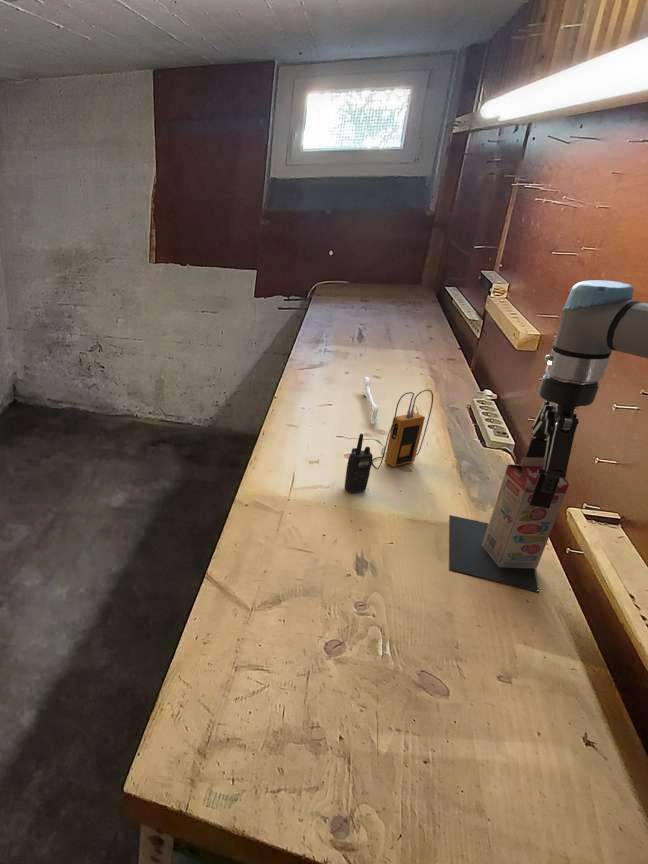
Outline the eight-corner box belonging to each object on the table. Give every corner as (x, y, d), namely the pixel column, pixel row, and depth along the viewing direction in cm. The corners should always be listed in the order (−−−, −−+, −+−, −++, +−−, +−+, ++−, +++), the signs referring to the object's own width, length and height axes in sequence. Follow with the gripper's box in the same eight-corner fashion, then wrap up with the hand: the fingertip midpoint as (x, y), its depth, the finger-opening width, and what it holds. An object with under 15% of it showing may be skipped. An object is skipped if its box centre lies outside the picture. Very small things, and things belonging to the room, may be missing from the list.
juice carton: (481, 545, 112) (513, 448, 103) (517, 546, 112) (552, 449, 102) (498, 567, 107) (533, 466, 97) (536, 568, 106) (575, 467, 96)
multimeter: (396, 443, 153) (411, 374, 144) (425, 460, 144) (443, 388, 135) (351, 453, 149) (364, 383, 140) (379, 471, 140) (394, 397, 131)
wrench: (359, 391, 186) (362, 374, 183) (366, 391, 185) (369, 374, 183) (370, 427, 162) (374, 408, 159) (378, 427, 161) (382, 409, 159)
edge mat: (527, 532, 116) (527, 531, 116) (538, 592, 100) (539, 592, 100) (449, 515, 122) (449, 514, 122) (449, 570, 107) (449, 569, 107)
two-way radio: (348, 494, 131) (358, 437, 124) (337, 485, 135) (347, 429, 128) (369, 491, 132) (380, 434, 125) (358, 481, 136) (368, 426, 129)
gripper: (535, 353, 104) (504, 454, 113) (554, 400, 85) (515, 517, 94) (585, 358, 101) (550, 461, 110) (618, 407, 81) (571, 528, 90)
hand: (534, 487), depth 102 cm, fingers open, 13 cm apart
